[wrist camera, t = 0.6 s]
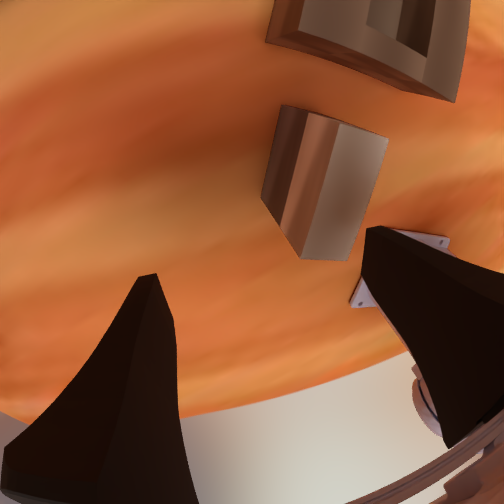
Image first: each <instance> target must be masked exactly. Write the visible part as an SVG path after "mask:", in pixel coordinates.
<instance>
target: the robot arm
mask: <svg viewBox="0 0 504 504" xmlns="http://www.w3.org/2000/svg"><path fill="white" fill-rule="evenodd" d="M449 243H450V239H449V238H448V237H445V236H438V235H431V234H425V233H418V232H411V231H404V230H397V229H390V228H387V227H384V226H375V227H371V228H366V236H365V245H364V254H363V261H362V269H361V276H362V277H361V280H360V282H359V284H358V286H357V288H356V290H355V293H354V295H353V297H352V299H351V301H350V306H351V307H352V308H361V307H377V308H378V309H379V311H380V312H381V313H382V315H383V316H384V317H385V319H386V320H387V322H388V323H389V324H390V326H391V327H392V329H393V330H394V331H395V333H396V334H397V336H398V337H399V338H400V340H401V341H402V343H403V344H404V346H405V347H406V348H407V350H408V351H409V353H410V354H411V356H412V357H413V359H414V360H415V362H416V364H415V365H414V366H413V367H412V371H413V372H414V374H415V375H416V377H417V378H416V379H415V380H414V382H413V386H412V390H413V391H412V392H413V393H412V397H413V402H414V405H415V408H416V410H417V412H418V414H419V416H420V417H421V419H422V421H423V422H424V423H425V424H426V426H427V427H428V428H429V429H430V430H431V431H432V432H433V433H435V434H436V435H438V436H440V437H442V438H443V441H444V443H445V444H446V446H447V448H448V449H450V448H452V447H454V448H453V449H451V450H450V451H448V452H447V453H445V454H443V455H442V456H440V457H438V458H437V459H435V460H433V461H432V462H430V463H428V464H427V465H425V466H423V467H422V468H420V469H418V470H416V471H415V472H413V473H411V474H409V475H407V476H405V477H403V478H402V479H400V480H398V481H396V482H394V483H392V484H390V485H388V486H386V487H383V488H381V489H379V490H377V491H375V492H372V493H370V494H368V495H366V496H363V497H361V498H359V499H356V500H353V501H351V502H348V503H346V504H398V503H400V502H402V501H404V500H406V499H408V498H410V497H412V496H413V495H415V494H417V493H419V492H420V491H422V490H424V489H426V488H427V487H429V486H431V485H432V484H434V483H435V482H437V481H439V480H440V479H441V478H443V477H445V476H446V475H448V474H449V473H451V472H452V471H454V470H455V469H457V468H458V467H459V466H461V465H462V464H464V463H465V462H466V461H468V460H469V459H470V458H472V457H473V456H474V455H476V454H481V453H483V456H482V457H481V458H480V459H478V460H477V461H475V462H474V463H473V464H471V465H470V466H468V467H467V468H465V469H464V470H462V471H461V472H459V473H458V474H457V475H455V476H454V477H453V478H451V479H450V480H449V481H447V482H446V483H445V484H444V489H445V491H446V494H444V495H443V496H441V497H439V498H438V499H436V500H434V501H433V502H431V503H429V504H504V274H503V273H499V272H495V271H492V270H489V269H486V268H483V267H480V266H477V265H474V264H471V263H469V262H466V261H463V260H461V259H458V258H457V257H456V256H455V255H454V254H453V253H451V252H450V251H449V250H448V249H447V247H448V245H449ZM2 463H3V464H2V471H1V484H0V490H1V491H2V493H3V494H4V495H5V496H7V497H9V498H11V499H13V500H15V501H17V502H19V503H21V504H199V502H198V499H197V495H196V492H195V489H194V485H193V481H192V478H191V474H190V470H189V465H188V461H187V456H186V452H185V447H184V442H183V437H182V432H181V425H180V419H179V411H178V394H177V344H176V336H175V328H174V320H173V316H172V314H171V311H170V309H169V306H168V303H167V301H166V298H165V296H164V293H163V290H162V287H161V285H160V282H159V279H158V276H157V274H156V273H154V274H150V275H145V276H140V277H138V279H137V280H136V282H135V283H134V285H133V287H132V288H131V290H130V292H129V294H128V295H127V297H126V299H125V301H124V302H123V304H122V306H121V308H120V309H119V311H118V313H117V315H116V316H115V318H114V320H113V321H112V323H111V325H110V327H109V328H108V330H107V331H106V333H105V334H104V336H103V338H102V339H101V341H100V342H99V344H98V346H97V347H96V349H95V350H94V352H93V353H92V354H91V356H90V357H89V359H88V360H87V361H86V363H85V364H84V365H83V367H82V368H81V369H80V371H79V372H78V373H77V375H76V376H75V377H74V378H73V380H72V381H71V382H70V383H69V384H68V385H67V387H66V388H65V389H64V390H63V391H62V393H61V394H60V395H59V396H58V397H57V398H56V400H55V401H54V402H53V403H52V404H51V405H50V406H49V407H48V408H47V409H46V410H45V411H44V412H43V413H42V414H41V415H40V416H39V417H38V418H37V419H36V420H35V421H34V422H33V423H32V424H31V425H30V426H29V427H28V428H27V429H25V430H24V431H23V432H22V433H21V434H20V435H19V436H17V437H16V438H15V439H14V440H13V441H11V442H10V443H9V444H8V445H7V446H5V448H4V454H3V462H2Z"/></svg>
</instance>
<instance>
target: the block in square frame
mask: <svg viewBox="0 0 504 504" xmlns="http://www.w3.org/2000/svg"><path fill="white" fill-rule="evenodd" d="M470 4H471V0H275V3H274V7H273V11H272V15H271V19H270V23H269V28H268V32H267V36H266V41H265V42H266V43H271V44H275V45H279V46H283V47H286V48H290V49H294V50H297V51H301V52H304V53H307V54H311V55H314V56H317V57H320V58H323V59H326V60H329V61H332V62H335V63H338V64H341V65H343V66H346V67H349V68H351V69H354V70H356V71H359V72H361V73H364V74H366V75H369V76H371V77H373V78H376V79H378V80H380V81H383V82H385V83H387V84H389V85H391V86H394V87H396V88H398V89H400V90H402V91H406V92H411V93H416V94H420V95H425V96H429V97H433V98H437V99H441V100H445V101H449V102H452V103H455V100H456V96H457V91H458V87H459V82H460V77H461V72H462V67H463V61H464V55H465V49H466V42H467V34H468V26H469V16H470Z"/></svg>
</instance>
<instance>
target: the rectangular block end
mask: <svg viewBox="0 0 504 504" xmlns="http://www.w3.org/2000/svg"><path fill="white" fill-rule="evenodd" d="M388 142H389V139H388V138H386V137H383V136H381V135H378V134H376V133H373V132H371V131H368V130H366V129H363V128H360V127H358V126H355V125H352V124H349V123H347V122H344V121H341V120H338V119H335V118H332V117H329V116H326V115H323V114H320V113H316V112H312V111H308V110H304V109H300V108H296V107H291V106H287V105H283V104H282V105H281V109H280V114H279V118H278V122H277V127H276V131H275V136H274V140H273V144H272V149H271V153H270V158H269V162H268V167H267V171H266V175H265V180H264V184H263V189H262V193H261V199H262V201H263V202H264V204H265V205H266V207H267V208H268V210H269V211H270V213H271V214H272V216H273V217H274V219H275V221H276V222H277V224H278V225H279V227H280V228H281V230H282V231H283V233H284V235H285V236H286V238H287V239H288V241H289V242H290V244H291V246H292V247H293V249H294V250H295V252H296V253H297V255H298V257H299V258H300V259H311V260H334V261H347V259H348V257H349V254H350V252H351V249H352V247H353V244H354V242H355V239H356V236H357V234H358V231H359V228H360V226H361V223H362V220H363V218H364V215H365V212H366V209H367V206H368V204H369V201H370V198H371V195H372V192H373V189H374V186H375V183H376V180H377V177H378V174H379V171H380V168H381V165H382V161H383V158H384V155H385V152H386V148H387V145H388Z"/></svg>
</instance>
